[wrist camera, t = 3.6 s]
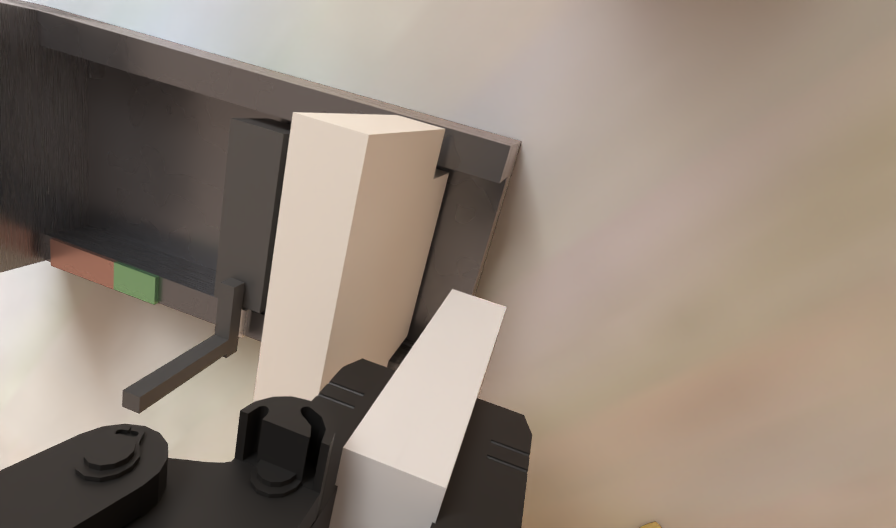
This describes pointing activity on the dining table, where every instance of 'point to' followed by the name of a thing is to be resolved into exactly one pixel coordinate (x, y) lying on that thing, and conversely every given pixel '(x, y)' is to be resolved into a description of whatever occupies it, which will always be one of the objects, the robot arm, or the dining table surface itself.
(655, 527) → the cheese
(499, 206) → the gauge track
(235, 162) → the indicator
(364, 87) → the dining table surface
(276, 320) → the cream stepped block
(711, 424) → the dining table surface
